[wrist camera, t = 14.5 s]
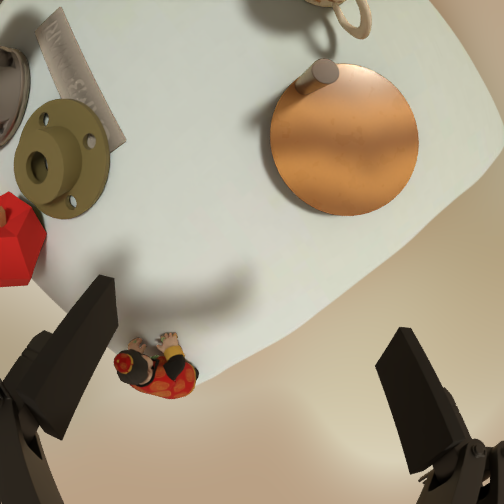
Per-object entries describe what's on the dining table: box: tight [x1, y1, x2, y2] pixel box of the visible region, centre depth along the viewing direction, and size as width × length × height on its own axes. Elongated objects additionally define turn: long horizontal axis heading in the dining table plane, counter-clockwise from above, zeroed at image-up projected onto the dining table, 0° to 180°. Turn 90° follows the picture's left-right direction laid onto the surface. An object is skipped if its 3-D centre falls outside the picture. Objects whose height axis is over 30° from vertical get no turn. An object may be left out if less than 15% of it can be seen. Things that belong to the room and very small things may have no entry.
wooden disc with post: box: [270, 58, 419, 216], centre depth 21 cm, size 16×16×10 cm
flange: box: [14, 99, 110, 219], centre depth 26 cm, size 5×15×15 cm
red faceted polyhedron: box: [0, 192, 47, 287], centre depth 27 cm, size 12×12×15 cm
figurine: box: [114, 332, 199, 399], centre depth 36 cm, size 10×10×15 cm
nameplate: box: [35, 7, 126, 153], centre depth 24 cm, size 23×1×5 cm
